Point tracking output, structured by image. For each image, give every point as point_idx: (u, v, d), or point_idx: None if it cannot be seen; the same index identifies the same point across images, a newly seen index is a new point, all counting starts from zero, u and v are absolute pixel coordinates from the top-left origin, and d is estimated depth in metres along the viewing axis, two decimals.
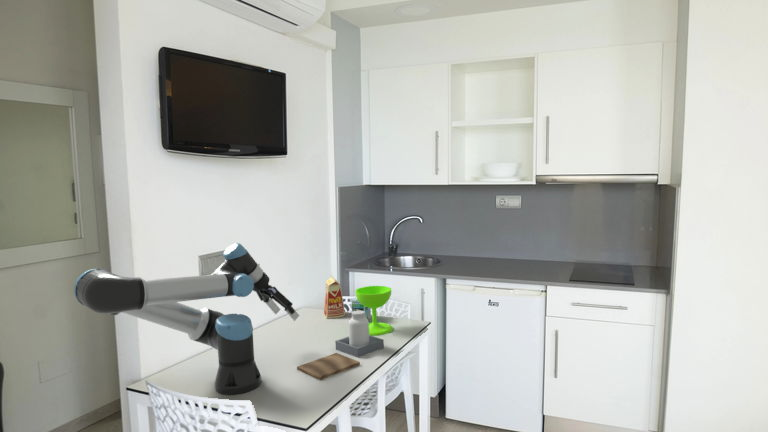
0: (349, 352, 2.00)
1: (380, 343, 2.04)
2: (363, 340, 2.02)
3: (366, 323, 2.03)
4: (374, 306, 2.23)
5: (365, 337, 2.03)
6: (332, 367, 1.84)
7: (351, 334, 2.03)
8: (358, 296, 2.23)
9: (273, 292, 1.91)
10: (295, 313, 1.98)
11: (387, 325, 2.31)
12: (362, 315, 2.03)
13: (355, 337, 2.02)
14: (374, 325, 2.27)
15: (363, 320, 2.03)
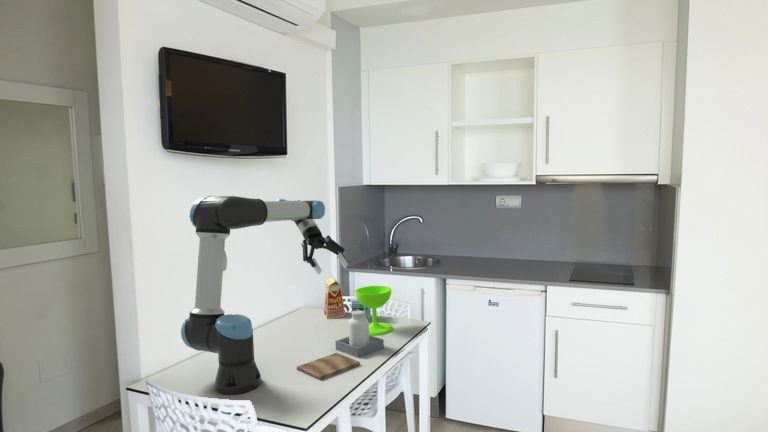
0: (349, 352, 2.00)
1: (380, 343, 2.04)
2: (363, 340, 2.02)
3: (366, 323, 2.03)
4: (374, 306, 2.23)
5: (365, 337, 2.03)
6: (332, 367, 1.84)
7: (351, 334, 2.03)
8: (358, 296, 2.23)
9: None
10: None
11: (387, 325, 2.31)
12: (362, 315, 2.03)
13: (355, 337, 2.02)
14: (374, 325, 2.27)
15: (363, 320, 2.03)
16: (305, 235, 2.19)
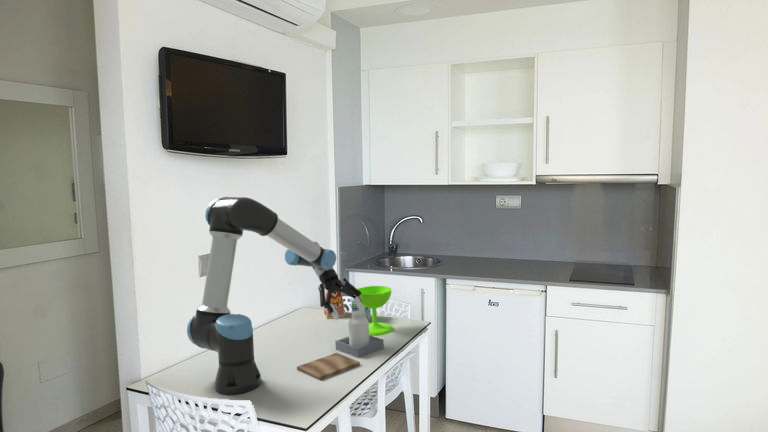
0: (349, 352, 2.00)
1: (380, 343, 2.04)
2: (363, 340, 2.02)
3: (366, 323, 2.03)
4: (374, 306, 2.23)
5: (365, 337, 2.03)
6: (332, 367, 1.84)
7: (351, 334, 2.03)
8: None
9: None
10: None
11: (387, 325, 2.31)
12: (362, 315, 2.03)
13: (355, 337, 2.02)
14: (374, 325, 2.27)
15: (363, 320, 2.03)
16: (322, 279, 2.16)
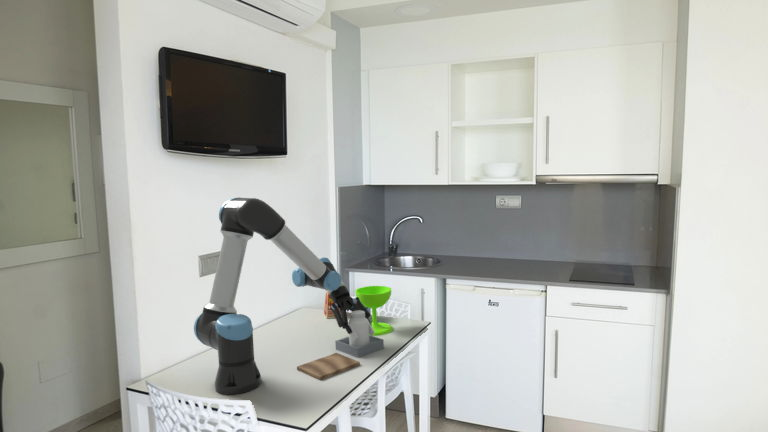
0: (349, 352, 2.00)
1: (380, 343, 2.04)
2: (363, 340, 2.02)
3: (366, 323, 2.03)
4: (374, 306, 2.23)
5: (365, 337, 2.03)
6: (332, 367, 1.84)
7: None
8: (358, 296, 2.23)
9: None
10: None
11: (387, 325, 2.31)
12: (362, 315, 2.03)
13: None
14: (374, 325, 2.27)
15: (363, 320, 2.03)
16: (333, 296, 2.09)
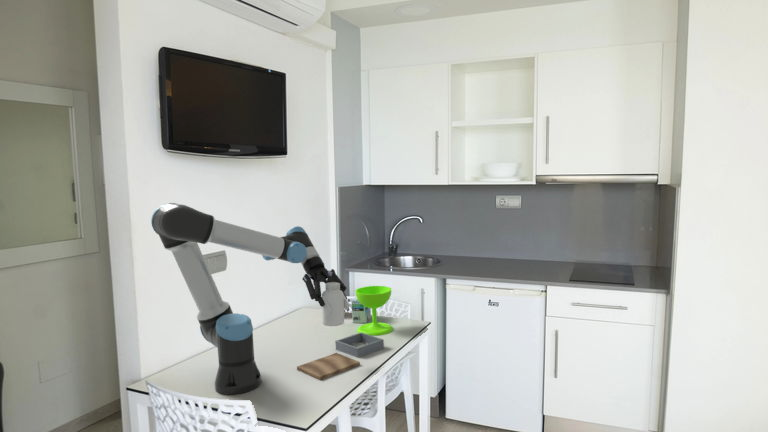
0: (349, 352, 2.00)
1: (380, 343, 2.04)
2: (337, 314, 1.86)
3: (341, 295, 1.87)
4: (374, 306, 2.23)
5: (339, 310, 1.87)
6: (332, 367, 1.84)
7: None
8: (358, 296, 2.23)
9: None
10: None
11: (387, 325, 2.31)
12: (336, 287, 1.87)
13: None
14: (374, 325, 2.27)
15: (337, 292, 1.87)
16: (306, 266, 1.94)
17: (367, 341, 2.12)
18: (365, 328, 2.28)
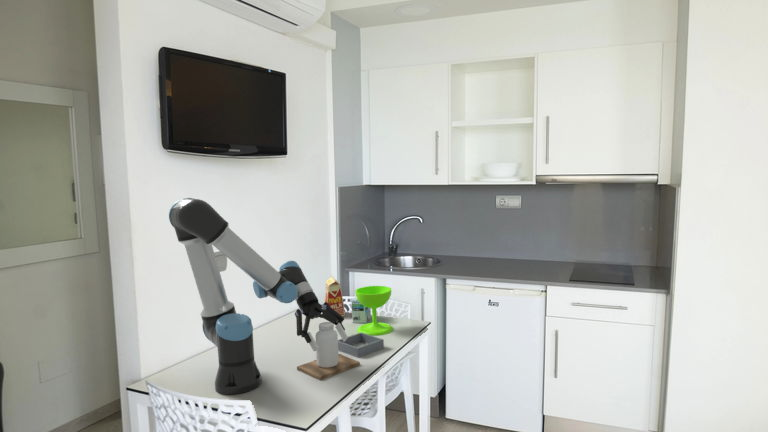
0: (349, 352, 2.00)
1: (380, 343, 2.04)
2: (330, 355, 1.84)
3: (334, 336, 1.85)
4: (374, 306, 2.23)
5: (333, 351, 1.84)
6: (332, 367, 1.84)
7: (318, 348, 1.84)
8: (358, 296, 2.23)
9: None
10: None
11: (387, 325, 2.31)
12: (330, 328, 1.84)
13: (322, 351, 1.83)
14: (374, 325, 2.27)
15: (331, 333, 1.84)
16: (299, 303, 1.91)
17: (367, 341, 2.12)
18: (365, 328, 2.28)
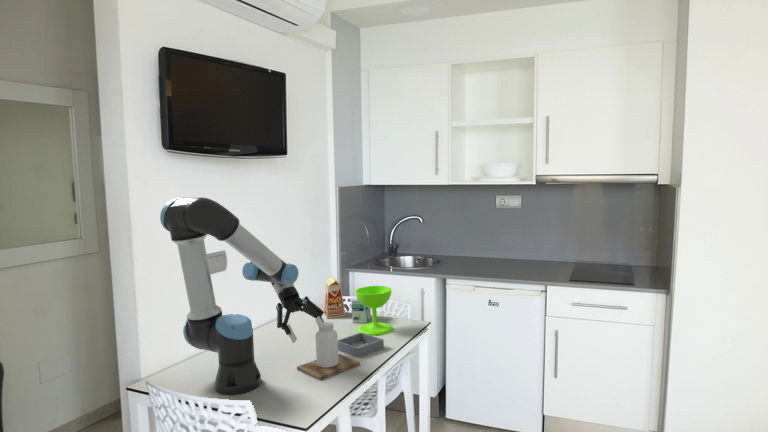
0: (349, 352, 2.00)
1: (380, 343, 2.04)
2: (330, 355, 1.84)
3: (334, 336, 1.85)
4: (374, 306, 2.23)
5: (333, 351, 1.84)
6: (332, 367, 1.84)
7: (318, 348, 1.85)
8: (358, 296, 2.23)
9: None
10: None
11: (387, 325, 2.31)
12: (330, 327, 1.85)
13: (322, 351, 1.84)
14: (374, 325, 2.27)
15: (331, 333, 1.85)
16: (280, 297, 2.01)
17: (367, 341, 2.12)
18: (365, 328, 2.28)
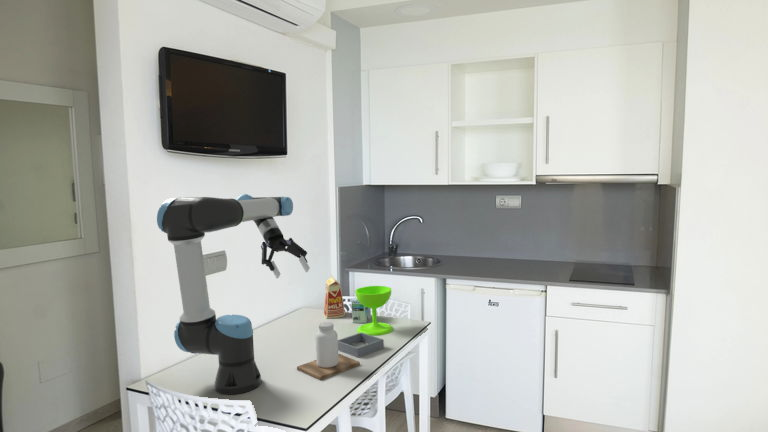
0: (349, 352, 2.00)
1: (380, 343, 2.04)
2: (330, 355, 1.84)
3: (334, 336, 1.85)
4: (374, 306, 2.23)
5: (333, 351, 1.84)
6: (332, 367, 1.84)
7: (318, 348, 1.85)
8: (358, 296, 2.23)
9: None
10: None
11: (387, 325, 2.31)
12: (330, 328, 1.84)
13: (322, 351, 1.84)
14: (374, 325, 2.27)
15: (331, 333, 1.85)
16: (265, 237, 2.09)
17: (367, 341, 2.12)
18: (365, 328, 2.28)
